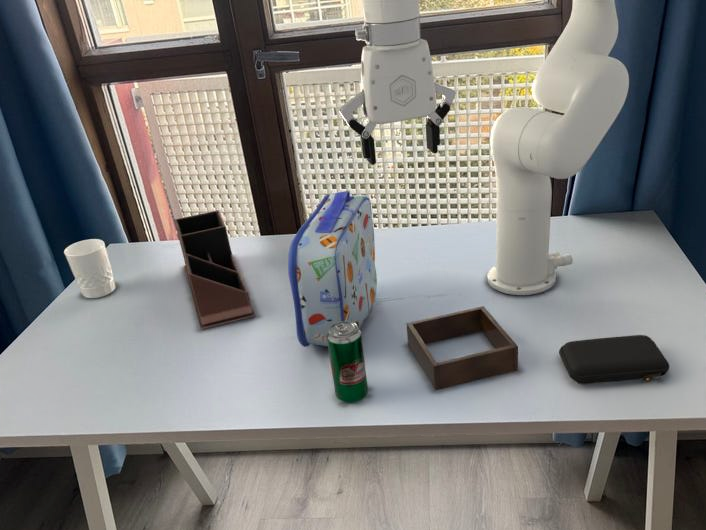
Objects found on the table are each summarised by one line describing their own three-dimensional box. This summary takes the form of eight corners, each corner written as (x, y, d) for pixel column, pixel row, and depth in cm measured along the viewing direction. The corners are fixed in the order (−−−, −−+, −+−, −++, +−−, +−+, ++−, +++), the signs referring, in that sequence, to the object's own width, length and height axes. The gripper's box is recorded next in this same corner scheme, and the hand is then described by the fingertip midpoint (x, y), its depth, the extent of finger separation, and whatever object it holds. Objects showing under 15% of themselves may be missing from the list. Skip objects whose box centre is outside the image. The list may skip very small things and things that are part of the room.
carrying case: (573, 394, 103) (675, 385, 102) (574, 377, 101) (678, 368, 100) (555, 354, 112) (649, 345, 111) (556, 338, 110) (651, 329, 109)
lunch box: (333, 283, 139) (318, 175, 127) (384, 283, 137) (374, 174, 125) (294, 361, 117) (271, 239, 105) (354, 363, 115) (338, 239, 103)
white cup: (72, 298, 145) (55, 254, 140) (97, 280, 151) (82, 237, 146) (101, 301, 143) (86, 257, 137) (126, 283, 149) (112, 240, 143)
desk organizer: (231, 256, 155) (220, 208, 148) (256, 317, 131) (244, 262, 125) (184, 267, 153) (170, 218, 146) (200, 330, 129) (185, 276, 123)
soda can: (344, 409, 105) (334, 341, 98) (330, 392, 109) (319, 326, 102) (374, 397, 107) (366, 330, 100) (359, 381, 111) (350, 316, 104)
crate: (483, 328, 120) (483, 305, 118) (517, 370, 109) (518, 346, 106) (408, 345, 118) (406, 323, 115) (435, 390, 107) (433, 366, 104)
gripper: (338, 47, 92) (352, 174, 101) (462, 27, 95) (465, 153, 104) (326, 38, 98) (340, 159, 107) (443, 21, 101) (447, 140, 110)
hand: (402, 156), depth 106 cm, fingers open, 9 cm apart
